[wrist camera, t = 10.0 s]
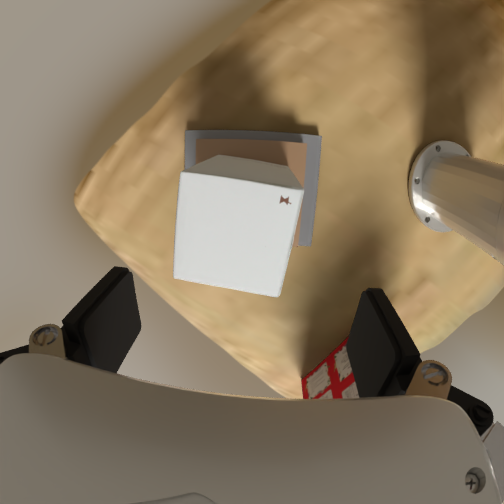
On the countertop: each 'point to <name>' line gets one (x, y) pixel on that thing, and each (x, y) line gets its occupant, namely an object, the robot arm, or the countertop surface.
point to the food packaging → (331, 377)
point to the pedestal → (268, 150)
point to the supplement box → (236, 224)
